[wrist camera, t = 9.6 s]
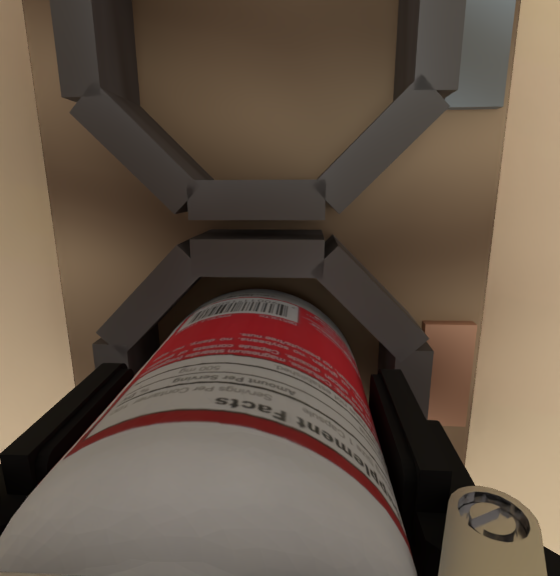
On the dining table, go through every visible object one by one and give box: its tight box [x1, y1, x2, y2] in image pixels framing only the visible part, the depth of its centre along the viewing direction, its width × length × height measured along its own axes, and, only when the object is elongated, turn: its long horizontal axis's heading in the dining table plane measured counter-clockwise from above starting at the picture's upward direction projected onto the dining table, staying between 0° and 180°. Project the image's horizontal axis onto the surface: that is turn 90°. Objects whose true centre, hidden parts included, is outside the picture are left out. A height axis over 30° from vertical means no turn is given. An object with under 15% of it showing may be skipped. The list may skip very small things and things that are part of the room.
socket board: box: [22, 0, 521, 466], centre depth 12 cm, size 20×14×4 cm
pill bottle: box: [0, 289, 417, 576], centre depth 8 cm, size 6×6×11 cm
